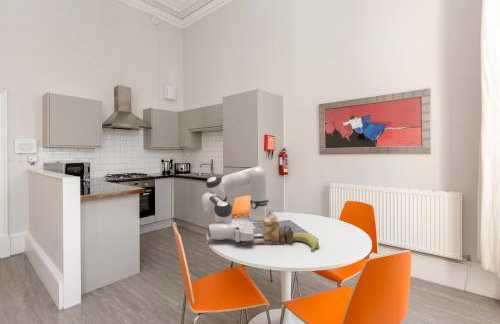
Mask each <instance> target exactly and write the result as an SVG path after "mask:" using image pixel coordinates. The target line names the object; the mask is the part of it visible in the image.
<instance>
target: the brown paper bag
mask: <svg viewBox="0 0 500 324" xmlns="http://www.w3.org/2000/svg"><path fill="white" fill-rule="evenodd" d="M262 223H263V234H262V236H263V237H264V239H263V242H279V227H280V220H279V219H278V217H275V218H263V221H262Z"/></svg>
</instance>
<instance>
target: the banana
mask: <svg viewBox="0 0 500 324" xmlns="http://www.w3.org/2000/svg"><path fill="white" fill-rule="evenodd" d="M294 241H295V242H303V243H306V244H307V245H309V246H310V247H311V249H310V252H311V253H314V252H315V249H317V248H319V246H320V244H319V239H318V238H317V237H316V236H315V235H313V234H312V233H309V232H295V233H293V242H294Z"/></svg>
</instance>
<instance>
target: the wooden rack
mask: <svg viewBox="0 0 500 324" xmlns="http://www.w3.org/2000/svg"><path fill="white" fill-rule="evenodd" d="M293 234H294V231H293V230H292V227H291V226H290V225H284V226H283V227H280V226H279V242H264V241H241V242H242V246H279V245H280V246H283V245H284V246H285V240H286V245H293V242H294V241H293ZM254 239H255V240H256V239H259V240H261V239H263V240H264V237H263V235H254Z"/></svg>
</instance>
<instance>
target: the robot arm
mask: <svg viewBox="0 0 500 324" xmlns="http://www.w3.org/2000/svg"><path fill="white" fill-rule="evenodd" d="M266 173H267V171H266V169H265V168H264V167H263V166H260V165H257V166H254V167H253V166H252V167H249V168H247V169H243V170H240V171H237V172H236V171H235V172H233V173H230V174H225V175H224V176H222V177H219V176H215V175H214V176H210V177H208V178H207V180H206V181H205V185H206V186H205V187H206V188H207V192H205V193H203V194H202V196H201V200H200V201H201V205H202V208H203V209H204V211H205V212H206V213H207V214H209V215H210V214H211V215H212V214H214V220H215V221H214V222H213V223H210V224H208V226H207V235H208V238H209V239H211V240H218V241H219V240H220V241H224V240H232V241H235V242H236V243H240V241H241V242H252V241H253V240H254V236H255V235H258V234H262V233H263V230H262V228H257V227H254V223H251V222H250V223H249V222H248V223H240V222H233V220H232V218H233V217H232V216H233V215H232V213H233V212H232V211H233V207H232V205H231V203H229V202H227V201H228V196H227V193H226V190H231V189H233V190H234V189H236V188H240V187H243V186H244V187H245V186H247V185H249V184H250V202H249V204H250V206H249V214H248V215H247V216H248V220H250V221H254V222H263V218H277V215H276V214H274V210H273V208H272V207H271V206H270V205H268V203H270V200H269V199H267V196H266V195H267V193H266V191H267V189H266V186H267V184H266V182H267V181H266Z"/></svg>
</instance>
